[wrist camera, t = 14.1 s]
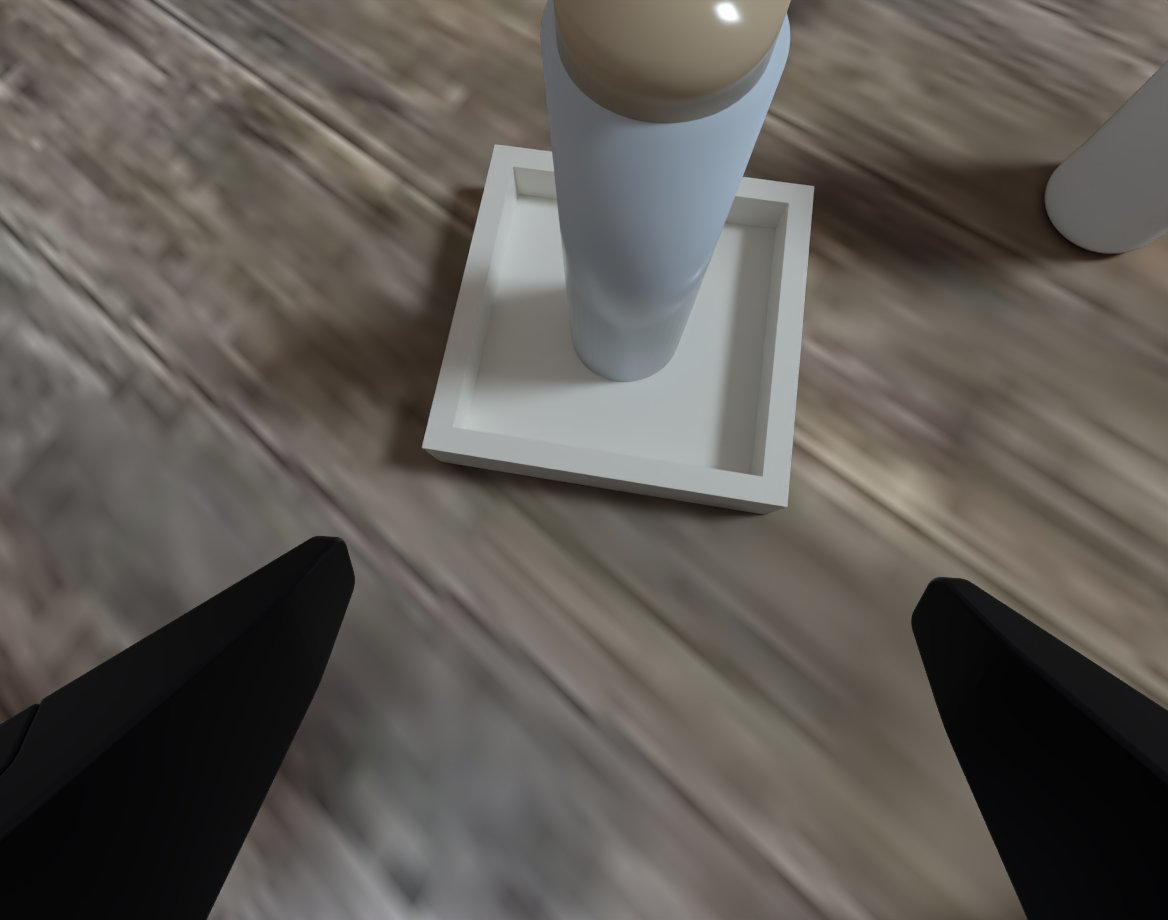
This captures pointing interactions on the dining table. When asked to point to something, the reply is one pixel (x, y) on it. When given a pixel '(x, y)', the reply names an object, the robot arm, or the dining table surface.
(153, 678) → the robot arm
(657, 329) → the spice jar
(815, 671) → the dining table surface
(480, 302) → the white square dish
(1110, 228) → the drinking glass
